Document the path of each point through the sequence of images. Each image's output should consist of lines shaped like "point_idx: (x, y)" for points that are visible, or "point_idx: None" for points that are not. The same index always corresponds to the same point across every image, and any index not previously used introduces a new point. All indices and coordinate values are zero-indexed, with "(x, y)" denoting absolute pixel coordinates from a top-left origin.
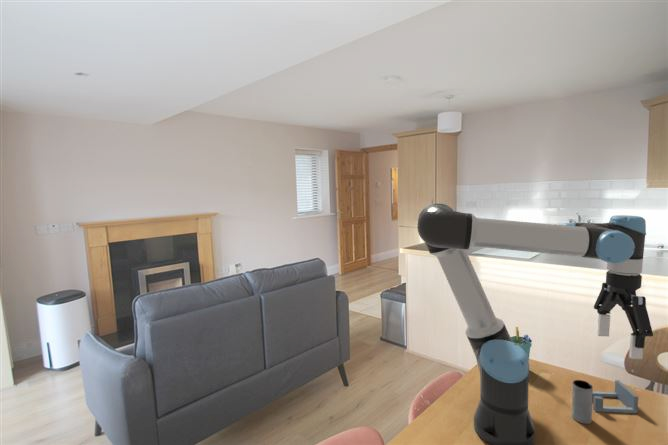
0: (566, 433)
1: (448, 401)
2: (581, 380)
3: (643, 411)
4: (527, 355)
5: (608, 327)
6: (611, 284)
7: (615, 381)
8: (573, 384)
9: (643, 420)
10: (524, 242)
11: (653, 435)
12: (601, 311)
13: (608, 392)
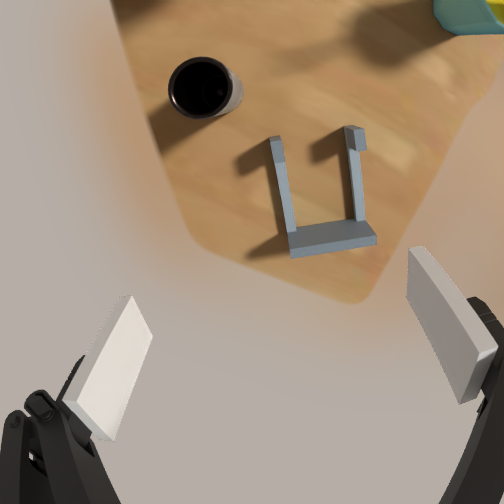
0: (145, 48)
1: None
2: (230, 90)
3: None
4: (467, 16)
5: (428, 331)
6: None
7: (374, 233)
8: (196, 57)
9: (258, 238)
10: None
11: (202, 234)
12: (496, 384)
13: (362, 203)
